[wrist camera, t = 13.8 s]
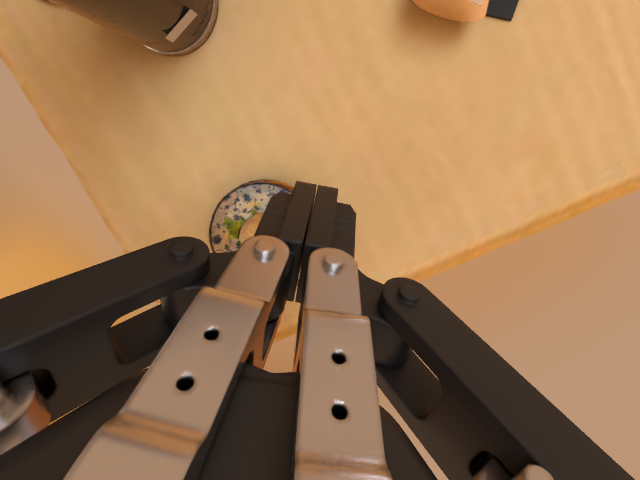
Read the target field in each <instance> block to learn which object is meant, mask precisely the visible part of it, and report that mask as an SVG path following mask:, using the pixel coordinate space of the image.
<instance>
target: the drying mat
mask: <svg viewBox="0 0 640 480" xmlns="http://www.w3.org/2000/svg"><path fill="white" fill-rule="evenodd" d="M518 1H519V0H490V3H489V7H488V10H487V13H486V15H487V16H491V17H496V18H500V19H504V20H508V21H511V20H512V18H513V15H514V12H515V9H516V6H517V3H518Z"/></svg>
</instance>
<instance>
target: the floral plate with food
mask: <svg viewBox="0 0 640 480" xmlns="http://www.w3.org/2000/svg"><path fill="white" fill-rule="evenodd" d="M293 190H294V188H293V187H291V186H289V185H287V184H285V183H282V182H278V181H275V180H256V181H250V182H248V183H245V184H242V185H240V186H239V187H237V188H235V189H233V190H232V191H231V192H229V193H228V194H227V195H226V196H224V197H223V199H222V200H221V201H220V202H219V204H218V205H217V207H216V209H215V211H214V214H213V215H212V217H211V224H210V228H209V241H210V244H211V249H212V251H213V253H222V252H232V251H236V250H238V248H239V247H240V245H241V244H242V242H243V241H245V240H246V239H248V238H250V237H253V236H254V234H255V232H256V229H257V227H258V225H259V222H260V220H261V218H262V216H263V215H264V211H265V209H266V208H267V204H268V202H269V200H270V198H271V197H272V196H274V195H275V194H277V193H278V192H284V193H289V194H292V192H293ZM300 270H301V269H300ZM299 276H300V273H299ZM298 282H299V278H298ZM298 282H297V285H298Z"/></svg>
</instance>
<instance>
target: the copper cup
mask: <svg viewBox="0 0 640 480" xmlns="http://www.w3.org/2000/svg"><path fill="white" fill-rule="evenodd" d="M413 2H414V3H415V4H416V5H417V6H418V7H420V8H421V9H423V10H425V11H427V12H429V13H431V14H434V15H436V16H439V17H442V18H446V19H450V20H455V21H463V22H472V21H478V20H481V19H482V18H484V17H485V15H486V13H487V10H488V7H489V3H490V0H413Z"/></svg>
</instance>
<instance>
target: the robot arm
mask: <svg viewBox="0 0 640 480" xmlns="http://www.w3.org/2000/svg"><path fill="white" fill-rule="evenodd" d="M48 1H50V2H52V3H55V4H57V5H59V6H61V7H63V8H65V9H67V10H70V11H72V12H74V13H76V14H78V15H80V16H83V17H85V18H87V19H89V20H91V21H93V22H96V23H98V24H100V25H102V26H104V27H106V28H109V29H111V30H113V31H115V32H117V33H119V34H121V35H124V36H126V37H128V38H130V39H132V40H134V41H136V42H138V43H141V44H143V45H144V46H146V47H147V48H149V49H151V50H153V51H155V52H158V53H160V54H163V55H168V56H179V55H184V54H187V53H190V52H192V51H194V50H195V49H197V48H198V47H199V46H200V45H202V44H203V43H204V41H205V40H206V39H207V38H208V36H209V35H210V33H211V31H212V29H213V27H214V24H215V21H216V17H217V11H218V0H48ZM316 186H317V185H316V184H310V183H305V182H300V181H296V184H295V187H294V190H293V192H292V194H289V193H284V192H278V193H277V194H275V195H274V196H272V197H271V198H270V200H269V202H268V204H267V208H266V209H265V211H264V215H263V216H262V218H261V220H260V222H259V225H258V227H257V229H256V232H255V234H254V236H253V237H250V238H248V239H246V240H245V241H243V242H242V244H241V245H240V247H239V248H238V250H236V251H232V252H222V253H209V248H208V246H207V245H206V244H205V243H204V242H203V241H201V240H199V239H196V238H193V237H175V238H171V239H167V240H165V241H162V242H159V243H156V244H153V245H151V246H148V247H145V248H142V249H139V250H136V251H134V252H131V253H128V254H125V255H122V256H120V257H117V258H114V259H111V260H108V261H106V262H103V263H100V264H97V265H94V266H92V267H89V268H86V269H83V270H80V271H78V272H75V273H72V274H69V275H67V276H64V277H61V278H58V279H55V280H53V281H49V282H47V283H44V284H41V285H38V286H35V287H33V288H30V289H27V290H24V291H21V292H19V293H16V294H13V295H10V296H7V297H5V298H2V299H0V480H438V479H437V478H436V477H435V475H434V474H433V472H432V471H431V469H430V468H429V467H428V465H427V464H426V462H425V461H424V459H423V458H422V457H421V455H420V454H419V452H418V451H417V449H416V448H415V446H414V445H413V444H412V442H411V441H410V439H409V438H408V436H407V435H406V434H405V432H404V431H403V429H402V428H401V427H400V425H399V424H398V423H397V422H396V420H395V419H394V418H393V417H392V416H391V415H390V414H389V413H388V412H387V411H386V410H385V409H384V408H382V407H381V406H380V405H379V400H378V390H377V385H378V387H379V388H380V389H381V390H382V392H383V393H384V394H385V396H386V397H387V398H388V399H389V401H390V402H391V404H392V405H393V406H394V408H395V409H396V410H397V412H398V413H399V414H400V416H401V417H402V418H403V420H404V421H405V422H406V424H407V425H408V426H409V428H410V429H411V430H412V431H413V433H414V434H415V435H416V437H417V438H418V439H419V441H420V442H421V443H422V445H423V446H424V447H425V449H426V450H427V451H428V453H429V454H430V455H431V457H432V458H433V459H434V461H435V462H436V463H437V465H438V466H439V467H440V469H441V470H442V471H443V472H444V474H445V475H446V476H447V478H448V479H449V480H635V479H634V478H632V477H631V476H630V475H629V474H628V473H627V472H626V471H625V470H624V469H623V468H622V467H620V466H619V465H618V464H617V463H616V462H615V461H614V460H613V459H612V458H611V457H610V456H608V455H607V454H606V453H605V452H604V451H603V450H602V449H601V448H600V447H599V446H598V445H596V444H595V443H594V442H593V441H592V440H591V439H590V438H589V437H588V436H587V435H585V434H584V433H583V432H582V431H581V430H580V429H579V428H578V427H577V426H576V425H575V424H574V423H573V422H572V421H570V420H569V419H568V418H567V417H566V416H565V415H564V414H563V413H562V412H561V411H559V410H558V409H557V408H556V407H555V406H554V405H553V404H552V403H551V402H550V401H549V400H548V399H546V398H545V397H544V396H543V395H542V394H541V393H540V392H539V391H538V390H537V389H536V388H535V387H533V386H532V385H531V384H530V383H529V382H528V381H527V380H526V379H525V378H524V377H523V376H521V375H520V374H519V373H518V372H517V371H516V370H515V369H514V368H513V367H512V366H510V365H509V364H508V363H507V362H506V361H505V360H504V359H503V358H502V357H501V356H500V355H499V354H498V353H496V352H495V351H494V350H493V349H492V348H491V347H490V346H489V345H488V344H487V343H486V342H484V341H483V340H482V339H481V338H480V337H479V336H478V335H477V334H476V333H475V332H474V331H472V330H471V329H470V328H469V327H468V326H467V325H466V324H465V323H464V322H463V321H462V320H460V319H459V318H458V317H457V316H456V315H455V314H454V313H453V312H452V311H451V310H450V309H449V308H447V307H446V306H445V305H444V304H443V303H442V302H441V301H440V300H439V299H438V298H437V297H435V296H434V295H433V294H432V293H431V292H430V291H429V290H428V289H427V288H426V287H424V286H423V285H422V284H420V283H418V282H416V281H414V280H411V279H408V278H399V277H398V278H392V279H390V280H388V281H387V282H386V283H385V284H384V285H383V284H381V283H379V282H377V281H374V280H372V279H370V278H368V277H367V276H365V275H364V274H363V273H362V272H361V271H360V270H359V269H358V266H357V263H356V261H355V259H354V249H355V223H356V213H355V212H354V210H353V208H352V207H351V205H348V204H343V203H337V195H338V189H337V188H332V187H327V186H321V185H318V189H317V193H316ZM315 193H316V197H315ZM314 199H315V202H314ZM313 205H314V206H313ZM300 269H301V270H300ZM299 273H300V276H299ZM298 278H299V282H298ZM297 282H298V288H297V294H296V300H295V302H299V303H301V305H300V311H299V316H298V322H297V330H296V340H295V349H294V359H293V369H292V372H288V373H270V372H267V371H265V370H263V368H264V365H265V362H266V359H267V357H268V354H269V351H270V348H271V345H272V343H273V340H274V337H275V334H276V331H277V328H278V326H279V323H280V319H281V314H282V312H283V310H284V307H285V303H286V300H288V301H293V300H294V296H295V291H296V287H297ZM158 299H160V301H161V304H160V305H158V306H156V307H153V308H151V309H149V310H147V311H145V312H143V313H141V314H139V315H137V316H134V317H132V318H130V319H128V320H126V321H124V322H122V323H119V324H117V325H115V326H113V327H111V326H112V324H113V323H114V322H115V321H116V320H117V319H119V318H120V317H122V316H124V315H126V314H128V313H130V312H132V311H134V310H136V309H139V308H141V307H143V306H145V305H147V304H150V303H152V302H154V301H156V300H158ZM110 327H111V328H110ZM412 350H413V351H414V352H415V353H416V354H417V355H418V356H419V357H420V358H421V359H422V361H423V362H424V363H425V364H426V365H427V366H428V367H429V368H430V369H431V371H432V372H433V373H434V374H435V375H436V376H437V378H438V379H439V380H438V379H437V378H436V377H435V376H434V375H433V374H432V372H431V371H430V370H429V369H428V368H427V367H426V366H425V365H424V363H422V361H421V360H420V359H419V358H418V357H417V356H416V355H415V353H414V352H413V351H412ZM148 366H150V367H149V368H146V367H148ZM145 368H146V369H145ZM143 369H144V370H143ZM141 370H142V371H141ZM99 394H100V395H99ZM94 397H95V398H94ZM89 400H90V401H89ZM87 401H88V402H87ZM86 402H87V403H86ZM84 403H85V404H84ZM82 404H83V405H82ZM80 405H82V406H80ZM78 406H80V407H78ZM77 407H78V408H77ZM75 408H77V409H75ZM73 409H75V410H74V411H72V410H73ZM70 411H72V412H70ZM68 412H70V413H68ZM66 413H68V414H67V415H65V414H66ZM63 415H65V416H64V417H62V418H60V419H59V420H57V421H56V422H54V423H52V424H50V425H49V423H51V422H53V421H54V420H56V419H58V418H59V417H61V416H63ZM48 425H49V426H48Z"/></svg>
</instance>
